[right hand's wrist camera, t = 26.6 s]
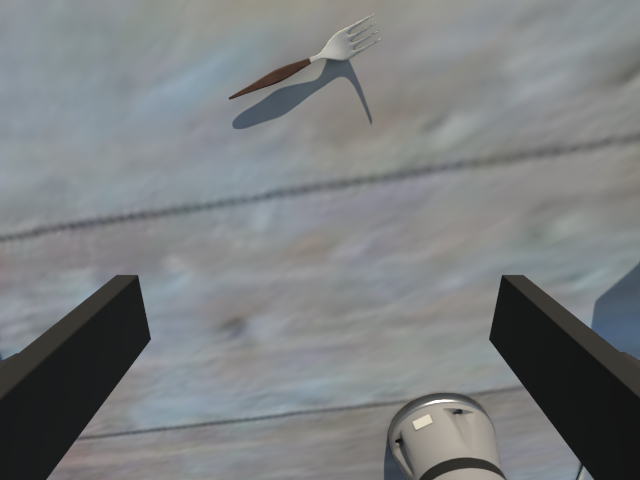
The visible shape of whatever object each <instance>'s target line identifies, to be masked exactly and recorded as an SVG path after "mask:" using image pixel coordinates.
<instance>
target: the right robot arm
mask: <svg viewBox="0 0 640 480" xmlns="http://www.w3.org/2000/svg"><path fill="white" fill-rule="evenodd" d="M150 340H151V337H150V332H149V327H148V323H147V318H146V313H145V308H144V303H143V298H142V293H141V288H140V283H139V278H138V275H116V276H115V277H114V278H112V279H111V280H110V281H109V282H107V283H106V284H105V285H104V286H102V287H101V288H100V289H99V290H97V291H96V292H95V293H94V294H92V295H91V296H90V297H89V298H87V299H86V300H85V301H84V302H82V303H81V304H80V305H79V306H77V307H76V308H75V309H74V310H72V311H71V312H70V313H69V314H67V315H66V316H65V317H64V318H62V319H61V320H60V321H59V322H57V323H56V324H55V325H54V326H52V327H51V328H50V329H49V330H47V331H46V332H45V333H44V334H42V335H41V336H40V337H39V338H37V339H36V340H35V341H34V342H32V343H31V344H30V345H29V346H27V347H26V348H25V349H24V350H22V351H21V352H20V353H16V354H14V355H12V356H11V357H9V358H7V359H5V360H3V361H1V362H0V480H46V479H47V478H48V477H49V475H50V474H51V472H52V471H53V470H54V468H55V467H56V466H57V464H58V463H59V462H60V460H61V459H62V458H63V456H64V455H65V454H66V452H67V451H68V450H69V448H70V447H71V446H72V444H73V443H74V442H75V440H76V439H77V438H78V436H79V435H80V434H81V432H82V431H83V430H84V428H85V427H86V426H87V424H88V423H89V422H90V420H91V419H92V418H93V416H94V415H95V414H96V412H97V411H98V409H99V408H100V407H101V405H102V404H103V403H104V401H105V400H106V399H107V397H108V396H109V395H110V393H111V392H112V391H113V389H114V388H115V387H116V385H117V384H118V383H119V381H120V380H121V379H122V377H123V376H124V375H125V373H126V372H127V371H128V369H129V368H130V367H131V365H132V364H133V363H134V361H135V360H136V359H137V357H138V356H139V355H140V353H141V352H142V351H143V349H144V348H145V347H146V345H147V344H148V342H149V341H150ZM489 340H490V341H491V342H492V344H493V345H494V347H495V348H496V349H497V351H498V352H499V353H500V355H501V356H502V357H503V359H504V360H505V361H506V363H507V364H508V365H509V367H510V368H511V369H512V371H513V372H514V373H515V375H516V376H517V377H518V379H519V380H520V381H521V383H522V384H523V385H524V387H525V388H526V389H527V391H528V392H529V393H530V395H531V396H532V397H533V399H534V400H535V401H536V403H537V404H538V405H539V407H540V408H541V409H542V411H543V412H544V414H545V415H546V416H547V418H548V419H549V420H550V422H551V423H552V424H553V426H554V427H555V428H556V430H557V431H558V432H559V434H560V435H561V436H562V438H563V439H564V440H565V442H566V443H567V444H568V446H569V447H570V448H571V450H572V451H573V452H574V454H575V455H576V456H577V458H578V459H579V460H580V462H581V463H582V464H583V466H584V467H585V468H586V470H587V471H588V472H589V474H590V475H591V477H592V478H593V479H594V480H640V360H638V359H636V358H634V357H632V356H630V355H628V354H627V353H625V352H619V351H618V350H616V349H615V348H614V347H613V346H611V345H610V344H609V343H608V342H606V341H605V340H604V339H603V338H601V337H600V336H599V335H598V334H596V333H595V332H594V331H593V330H591V329H590V328H589V327H588V326H586V325H585V324H584V323H583V322H581V321H580V320H579V319H578V318H576V317H575V316H574V315H573V314H571V313H570V312H569V311H568V310H566V309H565V308H564V307H563V306H561V305H560V304H559V303H558V302H556V301H555V300H554V299H553V298H551V297H550V296H549V295H548V294H546V293H545V292H544V291H543V290H541V289H540V288H539V287H538V286H536V285H535V284H534V283H533V282H531V281H530V280H529V279H528V278H526V277H525V276H524V275H502V278H501V283H500V288H499V293H498V298H497V303H496V308H495V313H494V318H493V323H492V327H491V332H490V337H489ZM388 438H389V444H390V449H391V453H392V456H393V458H394V460H395V461H396V463H397V465H398V467H399V468H400V470H401V472H402V473H403V475H404V477H405V478H406V480H506V478H505V476H504V474H503V472H502V470H501V464H500V458H499V452H498V446H497V440H496V434H495V429H494V426H493V424H492V422H491V420H490V418H489V416H488V415H487V413H486V411H485V410H484V409H483V407H482V406H481V405H480V404H478V403H477V402H476V401H474V400H472V399H471V398H468V397H466V396H463V395H459V394H453V393H437V394H431V395H427V396H423V397H421V398H418V399H416V400H414V401H412V402H410V403H408V404H407V405H406V406H404V407H403V408H402V409H401V410H400V411H399V412H398V413H397V414H396V415H395V417H394V418H393V420H392V422H391V424H390V427H389V432H388Z"/></svg>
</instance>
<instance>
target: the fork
mask: <svg viewBox="0 0 640 480" xmlns="http://www.w3.org/2000/svg"><path fill="white" fill-rule="evenodd" d="M373 15H374V14H372V15H371V16H369V17H367V18H365V19H363V20H361V21H359V22H357V23H355V24H353V25H351V26H349V27H347V28H345V29H343V30H341V31H339V32H337V33H336V34H335V35H334V36H333V37H332V38H331V39H330V40H329V42H328V43H327V45H326V46H325V48H324V49H323V50H322V52H321V53H320V54H318V55H316V56H314V57H311V58H308V59H305V60H302V61H299V62H296V63H293V64H290V65H287V66H284V67H281V68H279V69H277V70H275V71H273V72H271V73H269V74H268V75H266V76H264V77H263V78H261V79H260V80H258V81H256V82H255V83H253V84H252V85H250V86H248V87H246V88H245V89H243V90H241V91H240V92H238V93H236V94H234V95H233V96H231V97H229V100H230V99H233V98H236V97H239V96H241V95H244V94H247V93H249V92H252V91H255V90H258V89H261V88H264V87H267V86H270V85H273V84H276V83H278V82H281V81H283V80H284V79H286V78H288V77H290V76H291V75H293V74H295V73H296V72H298V71H300V70H301V69H303V68H304V67H306V66H308V65H309V64H311V63H313V62H314V61H316V60H318V59H322V58H326V59H331V60H337V61H344V60H348V59H350V58H352V57H353V56H355V55H356V54H358V53H360V52H361V51H363V50H365V49H367V48H368V47H370V46H371V45H373V44H375V43H376V42H378V41H379V40H381V38H380V39H379V40H377V41H374V42H372V43H370V44H368V45H366V46H364V47H361V48H359V49H356V50H355V49H354V48H355V46H357V45H358V44H360V43H361V42H363V41H365V40H366V39H368V38H369V37H371V36H372V35H374V34H375V33H377V32H378V31H376V32H374V33H372V34H370V35H368V36H366V37H364V38H362V39H360V40H358V41H355V42H352V39H353V38H355V37H356V36H358V35H359V34H361V33H362V32H364V31H365V30H367V29H368V28H370V27H371V26H373V25H374V24H376V23H374V24H372V25H370V26H368V27H366V28H364V29H362V30H360V31H358V32H356V33H353V34H349V32H350V31H351V30H353V29H354V28H356V27H357V26H359V25H360V24H362V23H363V22H364V21H366V20H367V19H369V18H370V17H372V16H373Z"/></svg>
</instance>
